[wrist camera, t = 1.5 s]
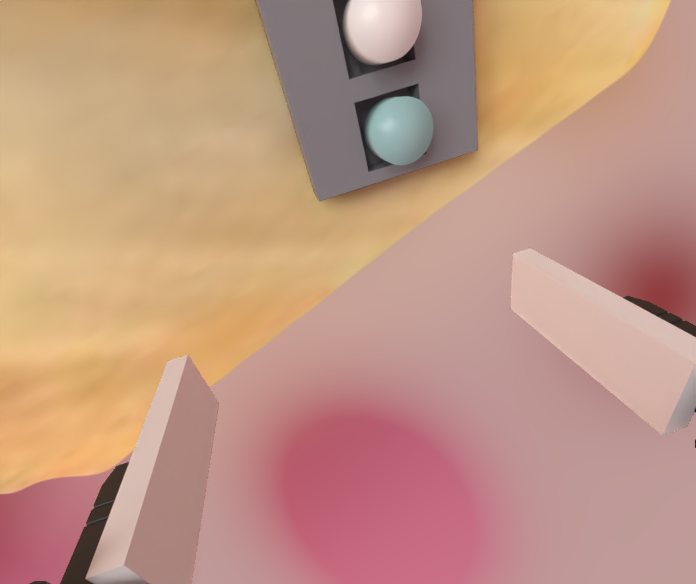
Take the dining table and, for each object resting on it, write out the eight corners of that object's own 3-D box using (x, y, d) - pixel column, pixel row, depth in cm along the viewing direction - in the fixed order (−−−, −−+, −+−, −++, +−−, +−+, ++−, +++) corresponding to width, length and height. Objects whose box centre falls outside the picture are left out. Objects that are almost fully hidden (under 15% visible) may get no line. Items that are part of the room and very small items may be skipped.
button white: (334, -8, 21) (344, -21, 19) (399, -26, 21) (416, -41, 19) (351, 73, 23) (361, 70, 21) (409, 55, 24) (426, 51, 21)
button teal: (358, 106, 25) (368, 107, 22) (413, 89, 25) (429, 88, 22) (370, 166, 27) (381, 173, 25) (421, 150, 27) (436, 155, 25)
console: (209, -149, 19) (201, -187, 16) (437, -205, 20) (463, -250, 17) (314, 192, 30) (319, 201, 27) (459, 145, 30) (477, 150, 28)
